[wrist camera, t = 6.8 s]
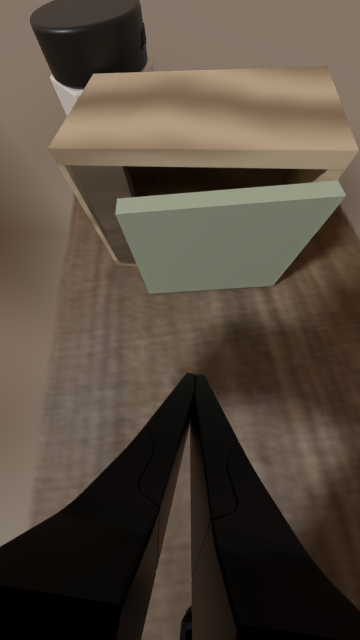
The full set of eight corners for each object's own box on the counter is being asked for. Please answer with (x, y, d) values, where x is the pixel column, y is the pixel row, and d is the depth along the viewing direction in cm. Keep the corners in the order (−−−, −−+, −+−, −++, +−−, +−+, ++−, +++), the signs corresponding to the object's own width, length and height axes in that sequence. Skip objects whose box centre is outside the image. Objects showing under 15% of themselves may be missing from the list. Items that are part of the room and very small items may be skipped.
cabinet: (270, 275, 18) (358, 150, 9) (117, 265, 20) (47, 148, 10) (265, 210, 21) (327, 66, 12) (133, 205, 23) (93, 73, 13)
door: (273, 285, 17) (346, 195, 9) (149, 293, 18) (115, 214, 10) (270, 275, 18) (337, 180, 10) (149, 283, 18) (117, 198, 10)
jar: (178, 184, 24) (167, 2, 12) (127, 216, 22) (62, 40, 11) (138, 155, 26) (100, -17, 15) (90, 181, 25) (9, 11, 14)
